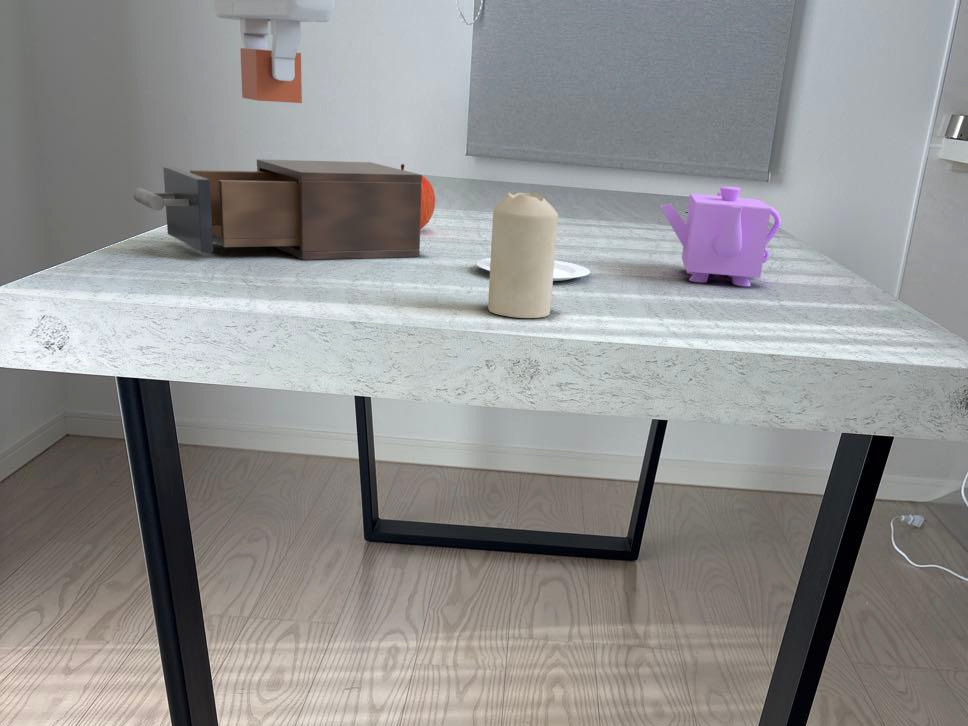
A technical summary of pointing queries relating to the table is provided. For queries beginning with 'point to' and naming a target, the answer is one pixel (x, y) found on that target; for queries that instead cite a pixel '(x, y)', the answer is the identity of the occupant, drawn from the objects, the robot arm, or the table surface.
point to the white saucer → (560, 269)
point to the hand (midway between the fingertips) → (270, 79)
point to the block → (267, 78)
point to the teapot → (724, 235)
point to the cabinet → (353, 209)
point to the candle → (522, 256)
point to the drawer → (228, 208)
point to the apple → (426, 201)
